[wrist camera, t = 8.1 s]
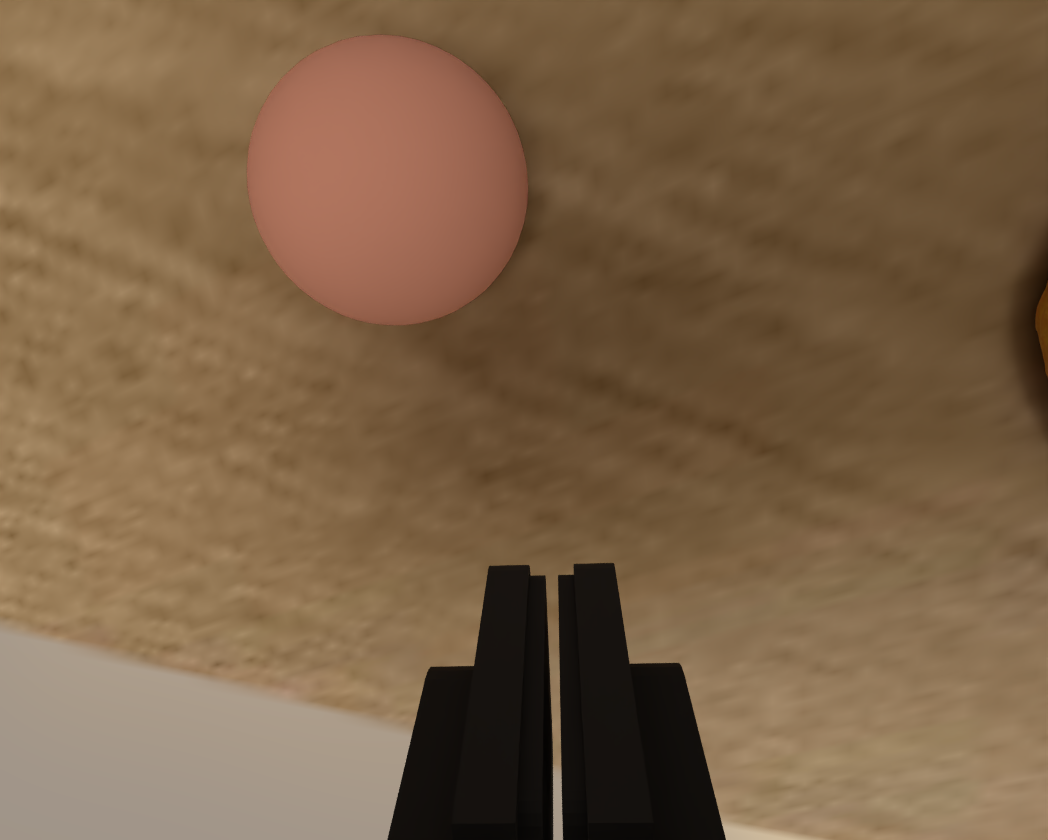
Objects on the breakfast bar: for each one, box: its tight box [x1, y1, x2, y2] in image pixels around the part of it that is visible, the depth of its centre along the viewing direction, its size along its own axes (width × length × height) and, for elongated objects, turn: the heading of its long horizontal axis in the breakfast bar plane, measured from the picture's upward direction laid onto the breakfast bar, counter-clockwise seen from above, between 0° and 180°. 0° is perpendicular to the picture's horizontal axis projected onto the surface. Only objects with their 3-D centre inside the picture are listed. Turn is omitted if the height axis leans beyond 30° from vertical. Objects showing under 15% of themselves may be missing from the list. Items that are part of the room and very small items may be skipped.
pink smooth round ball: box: [247, 35, 528, 325], centre depth 15 cm, size 6×6×6 cm
